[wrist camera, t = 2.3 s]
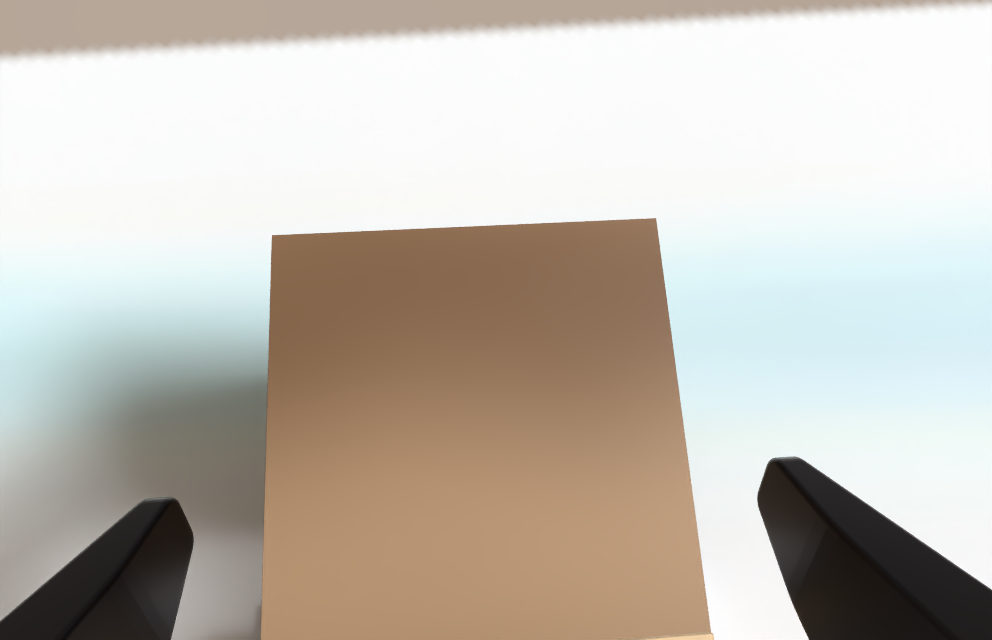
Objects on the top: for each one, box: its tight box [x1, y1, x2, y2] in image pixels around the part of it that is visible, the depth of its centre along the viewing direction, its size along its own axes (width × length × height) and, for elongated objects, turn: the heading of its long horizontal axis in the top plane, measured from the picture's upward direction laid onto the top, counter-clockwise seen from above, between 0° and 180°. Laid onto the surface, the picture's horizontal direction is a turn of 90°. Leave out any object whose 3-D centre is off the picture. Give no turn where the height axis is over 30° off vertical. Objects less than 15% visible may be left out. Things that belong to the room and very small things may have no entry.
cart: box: [261, 218, 711, 640], centre depth 12 cm, size 5×6×11 cm
